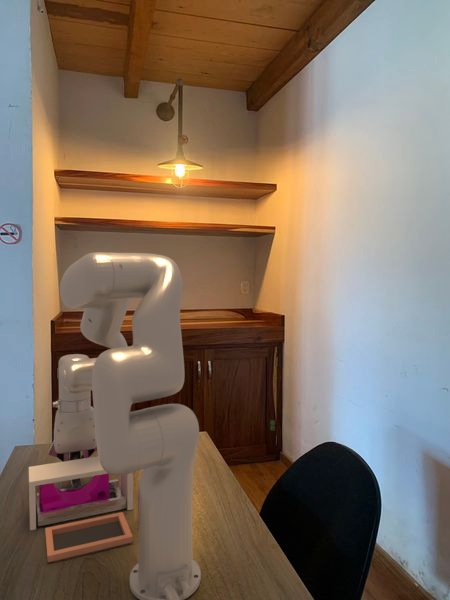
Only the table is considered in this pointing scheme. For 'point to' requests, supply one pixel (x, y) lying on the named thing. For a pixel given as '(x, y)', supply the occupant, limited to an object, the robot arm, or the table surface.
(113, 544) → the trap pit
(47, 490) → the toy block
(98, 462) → the tunnel
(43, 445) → the table surface
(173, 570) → the robot arm
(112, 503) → the slider
